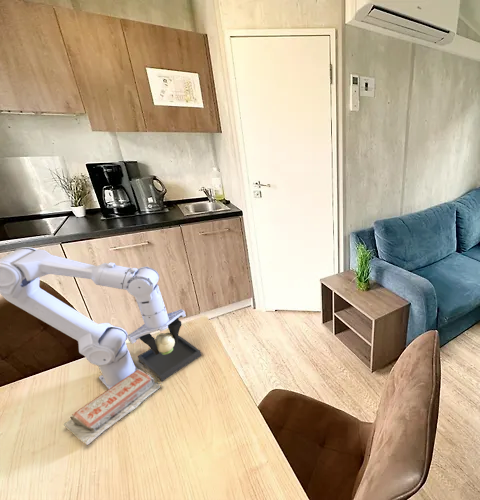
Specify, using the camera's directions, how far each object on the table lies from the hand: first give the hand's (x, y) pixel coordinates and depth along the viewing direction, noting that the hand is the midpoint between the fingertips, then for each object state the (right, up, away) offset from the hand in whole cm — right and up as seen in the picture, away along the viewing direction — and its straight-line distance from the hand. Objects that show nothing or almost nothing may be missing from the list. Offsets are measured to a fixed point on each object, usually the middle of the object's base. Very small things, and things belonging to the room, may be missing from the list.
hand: (165, 347), depth 85 cm
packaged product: (-7, -13, -9) cm, 18 cm away
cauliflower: (0, -1, +1) cm, 1 cm away
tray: (-3, -6, +7) cm, 10 cm away
